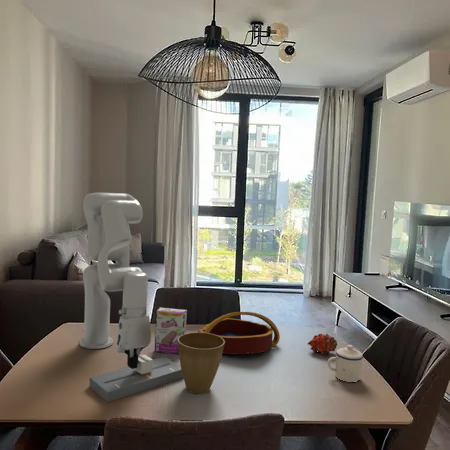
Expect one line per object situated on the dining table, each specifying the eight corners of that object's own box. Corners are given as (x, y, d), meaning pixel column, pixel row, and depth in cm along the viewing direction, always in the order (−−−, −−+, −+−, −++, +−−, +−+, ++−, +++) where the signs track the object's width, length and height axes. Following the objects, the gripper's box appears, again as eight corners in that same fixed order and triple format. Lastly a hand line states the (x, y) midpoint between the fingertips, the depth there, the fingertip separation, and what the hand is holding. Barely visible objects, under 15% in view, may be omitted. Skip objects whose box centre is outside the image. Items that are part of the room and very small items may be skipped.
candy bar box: (153, 352, 164) (155, 310, 162) (157, 347, 169) (159, 307, 167) (182, 355, 163) (184, 313, 161) (185, 350, 168) (187, 309, 166)
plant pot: (204, 404, 127) (207, 352, 126) (165, 390, 135) (167, 340, 133) (230, 386, 140) (233, 338, 138) (193, 373, 147) (195, 328, 146)
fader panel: (89, 386, 134) (89, 377, 134) (163, 365, 153) (164, 356, 153) (107, 402, 125) (108, 392, 125) (184, 377, 144) (184, 368, 144)
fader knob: (133, 369, 141) (133, 356, 140) (143, 366, 143) (144, 353, 143) (141, 374, 137) (142, 361, 136) (152, 371, 139) (152, 358, 139)
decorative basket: (264, 338, 193) (264, 305, 193) (295, 354, 165) (294, 314, 166) (191, 344, 182) (191, 309, 183) (210, 362, 155) (210, 320, 155)
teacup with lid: (355, 372, 156) (358, 341, 155) (364, 384, 147) (367, 351, 146) (323, 371, 155) (325, 340, 154) (330, 383, 146) (332, 350, 145)
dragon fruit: (339, 358, 172) (308, 360, 173) (334, 340, 178) (305, 342, 179) (340, 346, 166) (309, 348, 167) (336, 328, 173) (306, 330, 174)
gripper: (119, 318, 128) (117, 377, 129) (161, 310, 138) (158, 365, 140) (107, 311, 133) (105, 368, 135) (148, 304, 143) (146, 357, 145)
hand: (132, 367), depth 137 cm, fingers closed
